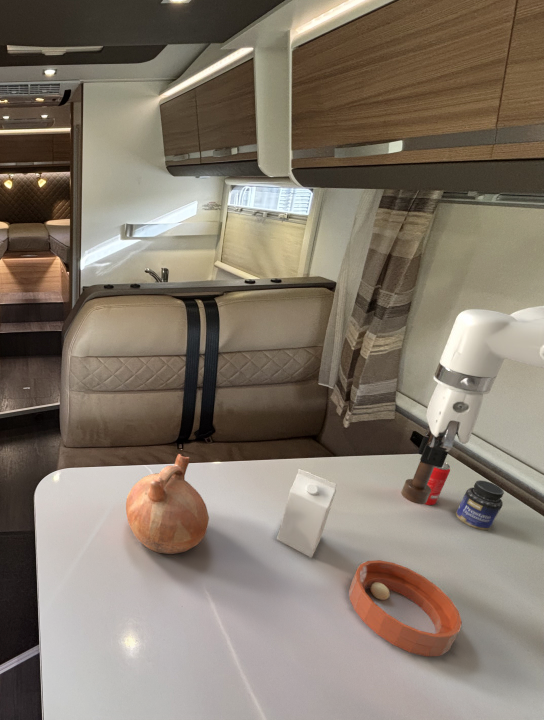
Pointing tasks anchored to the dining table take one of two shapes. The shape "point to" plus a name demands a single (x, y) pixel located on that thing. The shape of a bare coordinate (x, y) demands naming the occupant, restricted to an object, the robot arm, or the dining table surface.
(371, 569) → the ring
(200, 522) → the jug
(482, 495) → the pill bottle
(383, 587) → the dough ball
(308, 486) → the milk carton
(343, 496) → the dining table surface
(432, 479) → the beverage can
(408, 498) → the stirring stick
